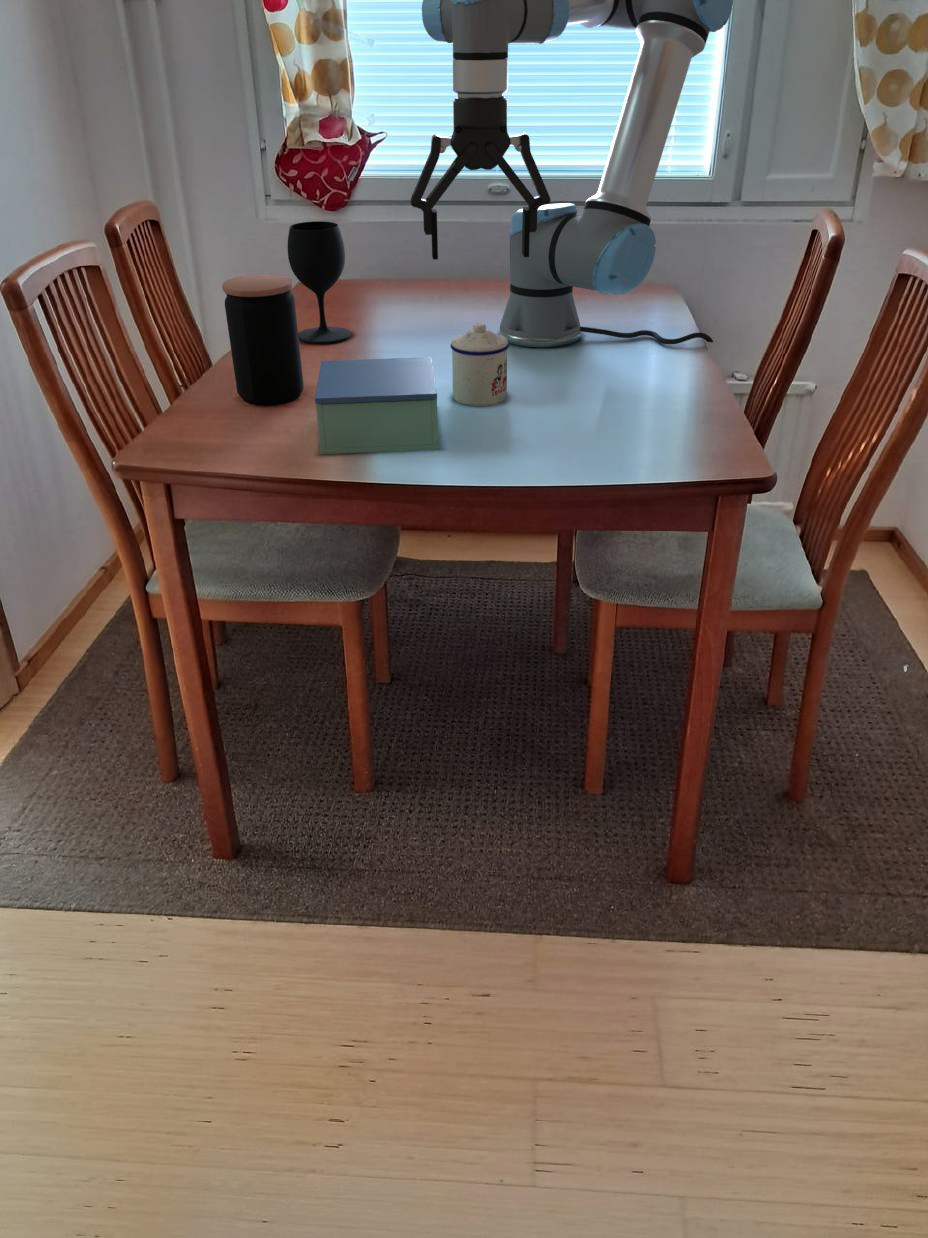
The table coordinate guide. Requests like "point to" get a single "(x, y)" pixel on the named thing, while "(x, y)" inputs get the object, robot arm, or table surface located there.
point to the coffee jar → (264, 339)
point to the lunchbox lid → (376, 380)
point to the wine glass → (318, 270)
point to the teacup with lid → (479, 367)
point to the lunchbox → (378, 426)
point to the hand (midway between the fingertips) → (480, 256)
